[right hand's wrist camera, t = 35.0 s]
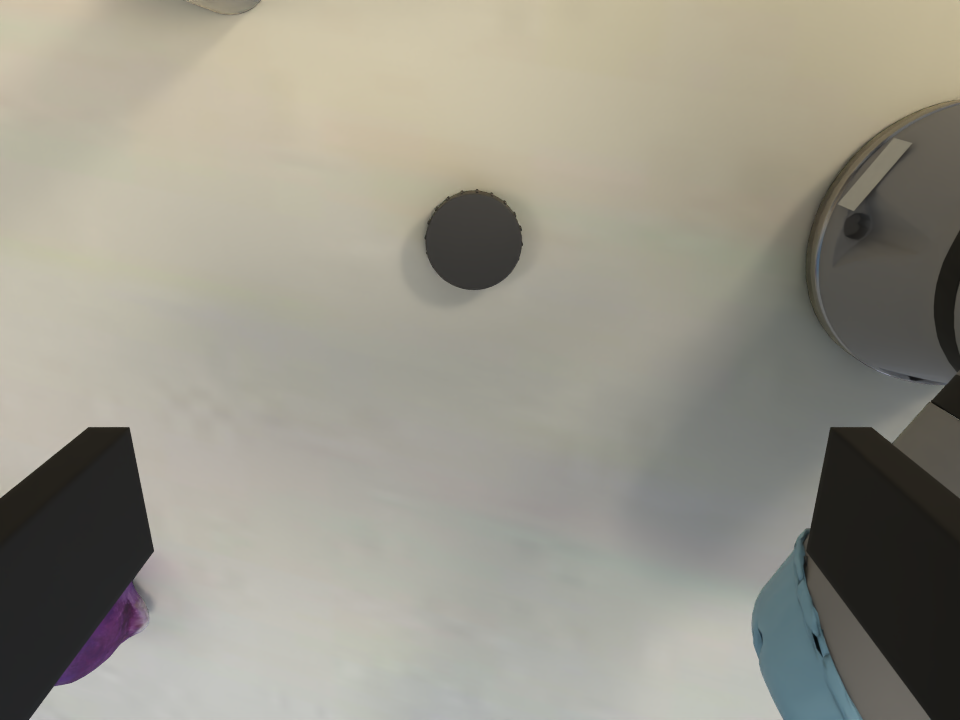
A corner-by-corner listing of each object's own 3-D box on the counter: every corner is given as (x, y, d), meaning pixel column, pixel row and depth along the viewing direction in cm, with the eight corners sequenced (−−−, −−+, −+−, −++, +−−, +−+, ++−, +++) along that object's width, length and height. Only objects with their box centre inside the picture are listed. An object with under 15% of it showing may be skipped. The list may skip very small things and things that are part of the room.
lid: (499, 173, 36) (500, 176, 35) (535, 262, 38) (537, 268, 37) (411, 212, 37) (408, 216, 36) (450, 298, 39) (448, 305, 37)
